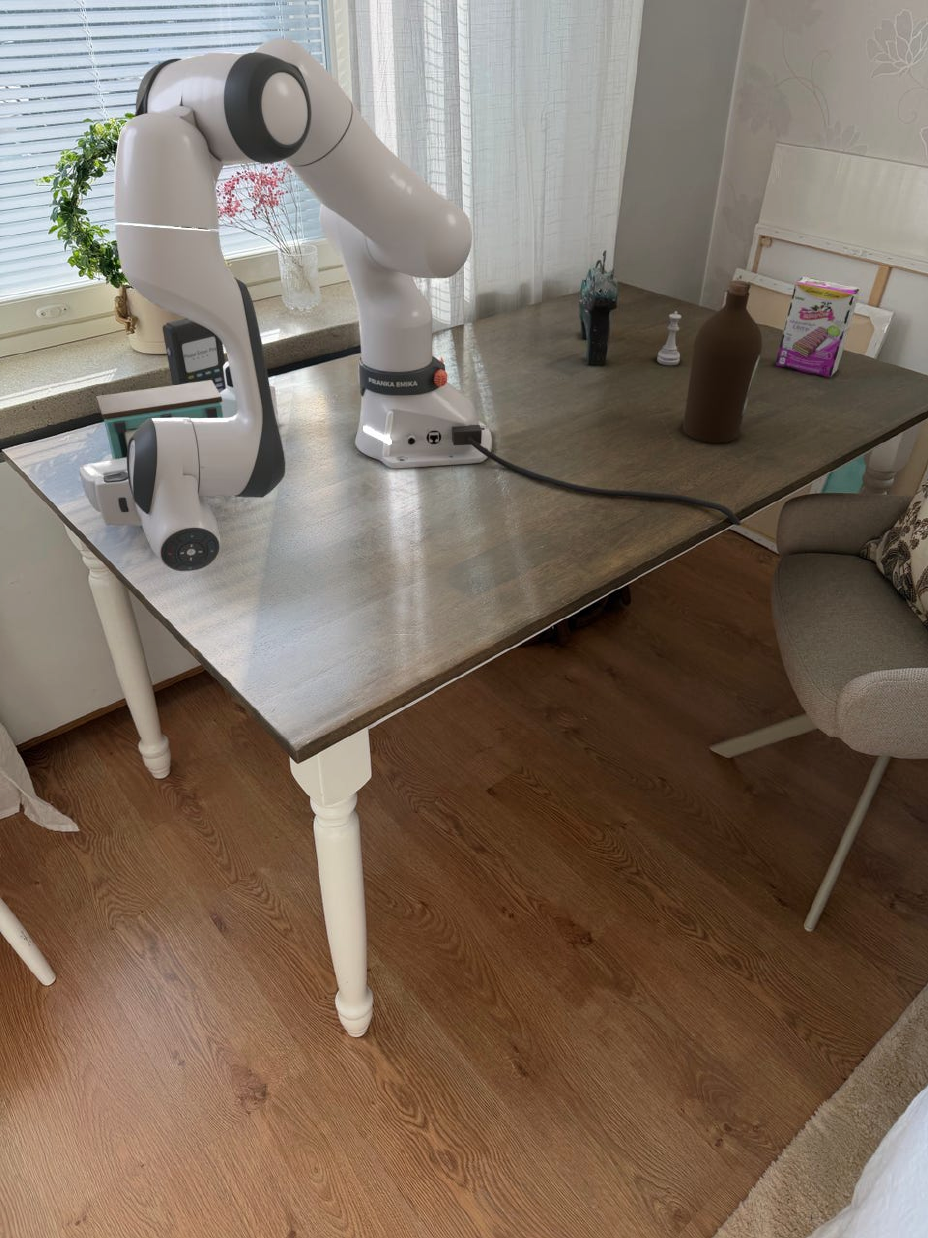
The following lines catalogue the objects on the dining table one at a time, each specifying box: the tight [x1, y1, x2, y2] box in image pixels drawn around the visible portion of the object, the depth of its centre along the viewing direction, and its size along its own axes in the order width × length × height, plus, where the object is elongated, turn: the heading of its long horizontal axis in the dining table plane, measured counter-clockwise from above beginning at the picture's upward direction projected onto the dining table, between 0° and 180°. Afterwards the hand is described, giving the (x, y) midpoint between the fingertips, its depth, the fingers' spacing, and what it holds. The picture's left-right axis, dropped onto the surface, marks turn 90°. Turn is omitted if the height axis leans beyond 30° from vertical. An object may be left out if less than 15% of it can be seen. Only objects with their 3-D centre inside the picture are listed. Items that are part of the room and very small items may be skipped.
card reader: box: [162, 318, 226, 393], centre depth 157 cm, size 9×4×15 cm, turn 131°
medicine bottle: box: [220, 360, 280, 426], centre depth 150 cm, size 7×7×12 cm
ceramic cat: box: [578, 250, 619, 367], centre depth 181 cm, size 20×6×20 cm, turn 179°
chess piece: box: [656, 310, 682, 366], centre depth 180 cm, size 4×4×10 cm
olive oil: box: [682, 279, 763, 444], centre depth 150 cm, size 11×11×25 cm
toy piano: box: [95, 380, 223, 460], centre depth 138 cm, size 10×17×12 cm, turn 114°
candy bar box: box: [775, 276, 861, 378], centre depth 177 cm, size 11×5×16 cm, turn 58°
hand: (149, 449), depth 132 cm, fingers closed, pressing on piano key left
